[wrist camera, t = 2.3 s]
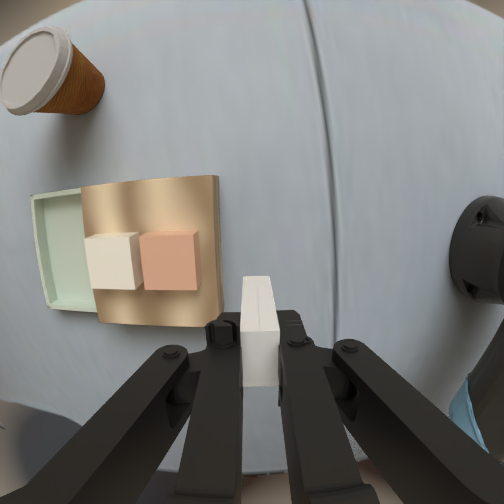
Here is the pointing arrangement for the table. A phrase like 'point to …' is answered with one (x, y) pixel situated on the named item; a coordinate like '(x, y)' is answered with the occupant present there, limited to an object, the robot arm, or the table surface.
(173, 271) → the terracotta tile
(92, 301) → the tray
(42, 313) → the table surface
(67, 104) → the disposable coffee cup
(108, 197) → the tan wooden flat block
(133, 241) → the cream tile
